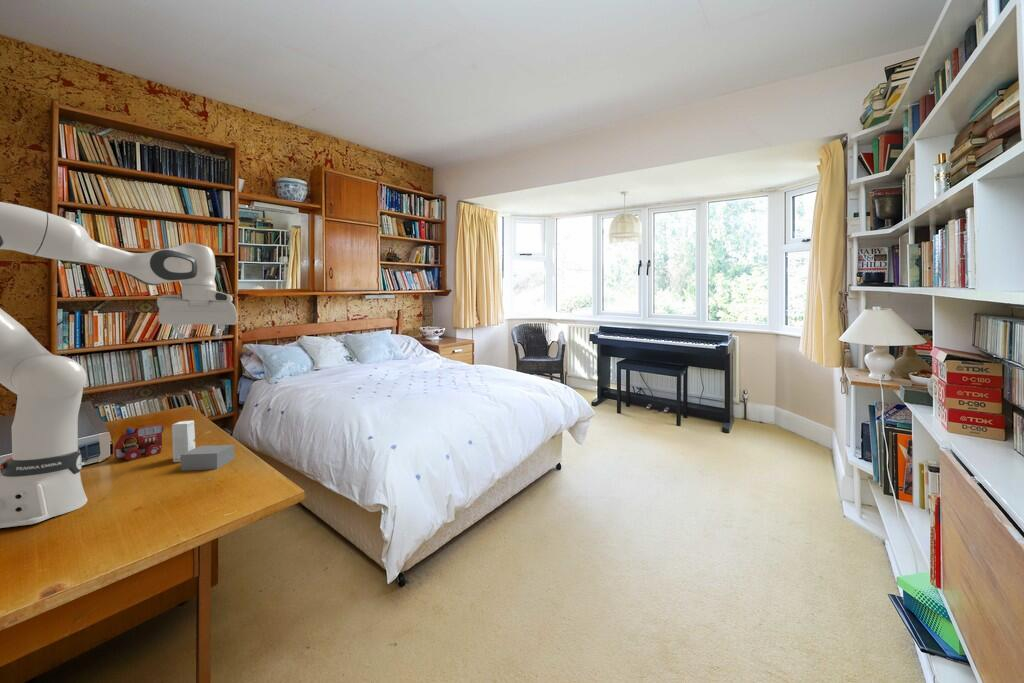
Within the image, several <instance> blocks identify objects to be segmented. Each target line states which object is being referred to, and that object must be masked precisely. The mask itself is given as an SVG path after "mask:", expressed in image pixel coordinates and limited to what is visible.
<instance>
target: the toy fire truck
mask: <svg viewBox="0 0 1024 683" xmlns="http://www.w3.org/2000/svg"><path fill="white" fill-rule="evenodd" d="M163 432H164V424H160V423H159V424H152V425H145V426H140V427H139V426H137V427H136V428H135V429H134V428H132V427H128V428H126V430H125V433H124V434H121V436H120V437H119V438H118V440H117V441H116V442H115V445H114V447H113V452H114V457H115V459H123V458H124V459H125V460H126V461H128V462H130V461H135V460H138V459H140V458H141V456H142V454H143V455H145V456H146V457H151V456H155V455H159V454H160V455H161V452H162V449H163V435H162V434H163Z"/></svg>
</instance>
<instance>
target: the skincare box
mask: <svg viewBox="0 0 1024 683" xmlns="http://www.w3.org/2000/svg"><path fill="white" fill-rule="evenodd" d="M171 434H172V435H171V436H172V437H171V438H172V458H173V459H172V462H173V463H181V454H183V453H186V452H188V451H190V450H192V449H194V448H196V431H195V420H182V421H181V420H180V421H178V422H175V423H173V424H171Z"/></svg>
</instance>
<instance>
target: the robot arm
mask: <svg viewBox="0 0 1024 683" xmlns="http://www.w3.org/2000/svg"><path fill="white" fill-rule="evenodd" d="M0 250H8V251H15V252H19V253H24V254H26V255H27V254H28V255H32V256H35V257H41V258H46V259H52V260H58V261H66V262H75V263H83V264H89V265H93V266H97V267H100V268H104V269H109V270H113V271H116V272H120V273H123V274H126V275H128V276H129V277H131V278H133V279H134V280H136V281H137V282H139V283H141V284H144V285H146V286H147V285H148V286H160V285H163V284H168V283H172V282H180V283H181V294H169V293H167V294H166V293H165V294H163V295H161V296H159V297H157V299H156V305H157V308H158V315H157V316H158V317H157V318H158V323H159V324H161V325H172V326H173V329H174V331H175V332H176V334H177V339H178V340H185V338H186V337H185V333H182V332H181V330H180V327H181V325H198V326H199V325H218V326H219V329H220V330H219V332H218V333H215V337H214V338H215V340H222V334H223V333H224V332H223V331H225V329H226V325H233V326H234V325H235V326H236V325H237V324H238V323H239V322H238V313H237V308H236V306H235V305H234V303H233V301H234V300H233V295H231V294H228V293H224V292H222V291H217V285H216V282H215V278H216V275H217V274H216V273H217V269H216V257H215V253H214V251H213V250H212V248H211V247H209V246H208V245H206V244H202V243H198V242H193V241H191V242H190V241H189V242H184V243H183V244H180V245H177V246H173V247H170V248H162V249H157V250H153V251H150V252H149V251H147V252H129V251H127V250H122V249H121V248H120V249H119V248H116V247H114V246H109V245H106V244H103V243H100V242H98V241H96V240H94V239H93V238H91V237H90V235H89V233H88V231H87V230H86V229H85V228H84V227H83V226H82V225H81V224H79V223H77V222H75V221H72V220H70V219H68V218H66V217H63V216H60V215H56V214H54V213H50V212H48V211H44V210H40V209H37V208H34V207H33V208H32V207H29V206H24V205H19V204H15V203H9V202H4V201H0ZM86 383H87V373H86V370H85V369H84V367H83V366H82V365H81V364H79V363H78V362H77V360H74V359H73V358H70V357H68V356H67V357H66V356H65V355H63V356H62V355H55V354H53V353H52V352H50V351H49V350H47V348H45V347H44V346H43V345H42V344H41V343H40V342H39V341H38V340H37V339H36V338H35V337H33V335H32V334H31V333H30V332H29V331H28V330H27V328H26V327H25V326H23V325H22V324H21V323H20V322H19V321H17V320H16V319H15V318H14V317H13V316H11V315H10V314H8V313H7V312H6V311H5V310H3V309H2V308H1V307H0V384H1V385H3V386H4V387H5V388H6V389H8V390H9V391H10V392H12V393H13V394H16V396H17V397H16V398H17V399H16V406H15V412H14V418H13V422H12V424H11V450H12V451H11V453H12V454H11V456H10V457H8V458H6V459H5V460H4V461H3V462H2V463H0V474H1V475H0V529H2V528H11V527H18V526H27V525H33V524H34V525H35V524H37V523H40V522H42V521H43V522H44V521H45V520H48V519H50V518H53V517H57V516H60V515H65V514H67V513H70V512H73V511H75V510H78V509H80V508H82V507H84V506H85V505H86V503H87V502H88V497H87V495H86V493H85V489H84V486H83V482H82V476H81V471H82V460H83V459H82V454H81V449H79V437H78V436H79V433H78V432H79V428H78V424H79V420H78V419H79V413H80V407H81V404H82V398H83V393H84V387H85V385H86Z"/></svg>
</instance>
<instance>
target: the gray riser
mask: <svg viewBox="0 0 1024 683" xmlns="http://www.w3.org/2000/svg"><path fill="white" fill-rule="evenodd" d="M231 460H232V461H234V460H235V445H234V444H220V445H219V444H218V445H215V444H214V445H200V446H197V447H195V448H194V449H192V450H190V451H188V452H186V453H183V454H181V462H180V471H196V470H197V471H199V470H200V471H201V470H218V469H219V468H221V467H223V466H225V465H226V464H229V463H230V462H232V461H231Z"/></svg>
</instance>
